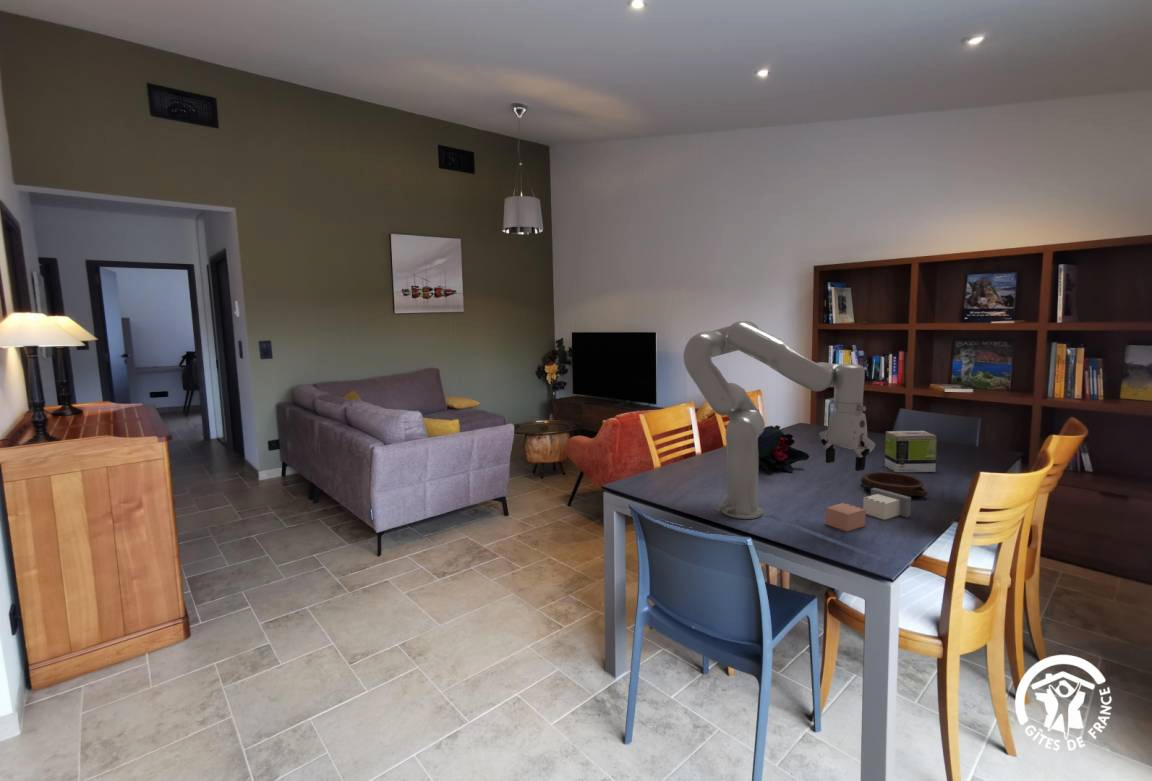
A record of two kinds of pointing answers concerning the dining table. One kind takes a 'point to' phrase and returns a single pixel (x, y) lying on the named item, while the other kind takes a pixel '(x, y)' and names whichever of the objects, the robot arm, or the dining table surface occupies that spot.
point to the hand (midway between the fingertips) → (844, 466)
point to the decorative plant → (778, 450)
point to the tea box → (910, 451)
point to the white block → (886, 504)
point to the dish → (894, 483)
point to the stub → (845, 516)
